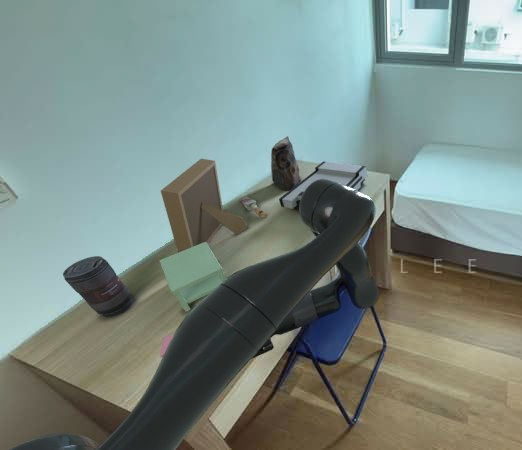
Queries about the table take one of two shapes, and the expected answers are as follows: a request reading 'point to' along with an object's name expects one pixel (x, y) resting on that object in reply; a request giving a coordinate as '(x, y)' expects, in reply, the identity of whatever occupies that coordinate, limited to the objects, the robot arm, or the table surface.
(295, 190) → the game console
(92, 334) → the table surface
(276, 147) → the owl
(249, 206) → the paintbrush
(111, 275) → the camera lens
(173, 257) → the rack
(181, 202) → the photo frame
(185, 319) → the robot arm
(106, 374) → the table surface
